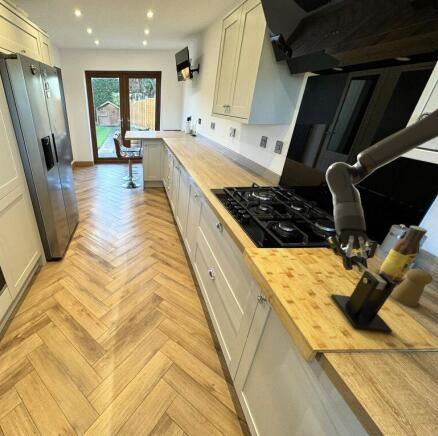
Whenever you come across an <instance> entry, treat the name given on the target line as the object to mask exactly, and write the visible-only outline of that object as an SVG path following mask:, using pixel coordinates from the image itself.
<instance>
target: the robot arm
mask: <svg viewBox="0 0 438 436" xmlns="http://www.w3.org/2000/svg"><path fill="white" fill-rule="evenodd" d="M437 138H438V108H436V109H435V110H434V111H432V112H431V113H428V114H427V115H426V116H423V117H422V118H421V119H419V120H417V121H415V122H414V123H412V124H410V125H408V126H406V127H404V128H402V129H400V130H398V131H396V132H394V133H393V134H390V135H389V136H386V137H385V138H383V139H381V140H379V141H378V142H376V143H374V144H373V145H371V146H369V147H367V148H366V149H363V151H361V152H360V153H359V154H358V155H357V156H356V157H357V162H356V163H355V164H353V165H350V164H348V163H346V162H342V161H339V162H338V161H337V162H334V163H332V164H331V165H330V166H329V167H328V168H327V170H326V173H325V179H326V183H327V185H328V188H329V191H330V193H331V195H332V204H333V220H334V228H335V232H336V234H335V235H332V236H330V237H328V238H327V239H326V240H327V242H328V244H329V246H330V248H331V250H332V252H333V254H334V255H335V256H338V257H341V259H342V266H343V268H344V269H345V271H352V270H353V268H354V266H353V265H352V259H351V258H350V256H352V251H353V253H354V254H355V256H358V257H360V258H361V260H362V262H361V264H362V265H363V266H365V267H366V268H367V269H368V270H369V267H368V259H373V258H374V257H375V254H376V250H377V248H378V245H379V242H378V241H376V240H374V241H373V240H371V239H369V238H368V236H367V235H366V231H367V227H366V226H367V225H366V220H365V213H364V209H363V206H362V201H361V197H360V196H361V195H360V192H359V190H358V189H357V188H356V187H355V185H357V184H359V183H360V182H362V181H363V180H364V179H365V178H367V177H368V176H369V175H371V174H372V173H373V172H375V171H376V170H377V169H379V168H381V167H383V166H385V165H387V164H389V163H391V162H392V161H395V160H396V159H398V158H400V157H402V156H404V155H406V154H407V153H409V152H411V151H413V150H414V149H415V150H416V148H418V147H420V146H422V145H424V144H426V143H428V142H430V141H432V140H434V139H437ZM357 268H358V267H357ZM358 272H359V273H363V272H362V271H361V270H360V269H359V268H358Z"/></svg>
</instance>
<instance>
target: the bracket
mask: <svg viewBox="0 0 438 436" xmlns="http://www.w3.org/2000/svg"><path fill="white" fill-rule="evenodd" d="M369 271H370V270H369ZM369 271H365V272H364V273H363V272H362V275H361V277H360V279H359V280H358V282H357V283H356V285H355V287H354V290H353V291H352V292H351V295H350V296H349V295H341V294H335V293H332V294H331V296H330V298H331V299H332V301H333V302H334V303H335V304H336V306H337V307H338V309H339V310H340V311H341V313H342V314H343V315H344V317H345V318H346V319H347V321H348V322H349V323H350V326H352V328H353V329H357V330H363V331H370V332H377V333H384V334H390V335H391V334H392V332H393V329H392V328H391V327H390V326H389V325H388V324H387V323H386V322H385V321H384V320H383V318H382V317H381V316H380V314H378V313H379V312H380V310H381V309H382V307H383V306H384V305H385V303H386V302H387V300H388V299H389V297H390V296H391V293H392V292H393V291H394V290H395V289H396V287H397V285H398V284H397V283H396V281H395V280H392V279H391V278H389V277H388V276H387V275H386V274H385V273H379V275H378V276H380V277H382V278H383V279H384V280H385V281H386V282H387V285H386V286H385V288H384V289H383V290H381V289H376V287H377V286H378V284H379V283H380V281H378V280H377V279H376V278H375V277H374V276H375V275H374V274H373V273H372V272H371V271H370V272H371V273H372V274H373V275H374V276H373V275H372V274H371V273H370V272H369Z"/></svg>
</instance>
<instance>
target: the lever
mask: <svg viewBox="0 0 438 436" xmlns="http://www.w3.org/2000/svg"><path fill="white" fill-rule="evenodd" d="M350 258H351V259H352V267H357V268H359V269H360V270H361V271H362V272H361V273H362V274H363V273H364V272H365V271H369V272H370V273H371V274H372V275H373V276H374V277H375V278H376V279H377V280H378V281H380V283H379V284H378V286H377V287H376V289H381V290H383V289H384V288H385V286H386V285H387V282H386V281H385V280H384V279H383V278H382V277H380V276H379V275H374V274H373V273H372V272H371V271H370V270H369V268H368V269H367V268H366V267H365V266H363V265H362V264H361V262H362V260H361V258H360V257H358V256H356V254H355V255H351V256H350Z"/></svg>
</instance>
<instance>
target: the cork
mask: <svg viewBox="0 0 438 436" xmlns="http://www.w3.org/2000/svg"><path fill="white" fill-rule="evenodd" d="M433 280H434V279H433V276H432V274H431V273H429V272H428V271H426V270H423V269H420V268H409V269H408V270H407V272H406V278H405V279H404V280H402V282H401V283H400V284H399V285H398V286H396V287H395V288H394V289H393V291H392V292H391V294H390V296H391V297H392V298H393V299H394V300H396V301H397V302H399V303H401V304H402V305H405V306H409V307H417V305H418V303H419V301H420V299H421V296H422V294H423V292H424V289H425V288H426V285H429V284H431V283H432V282H433Z"/></svg>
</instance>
